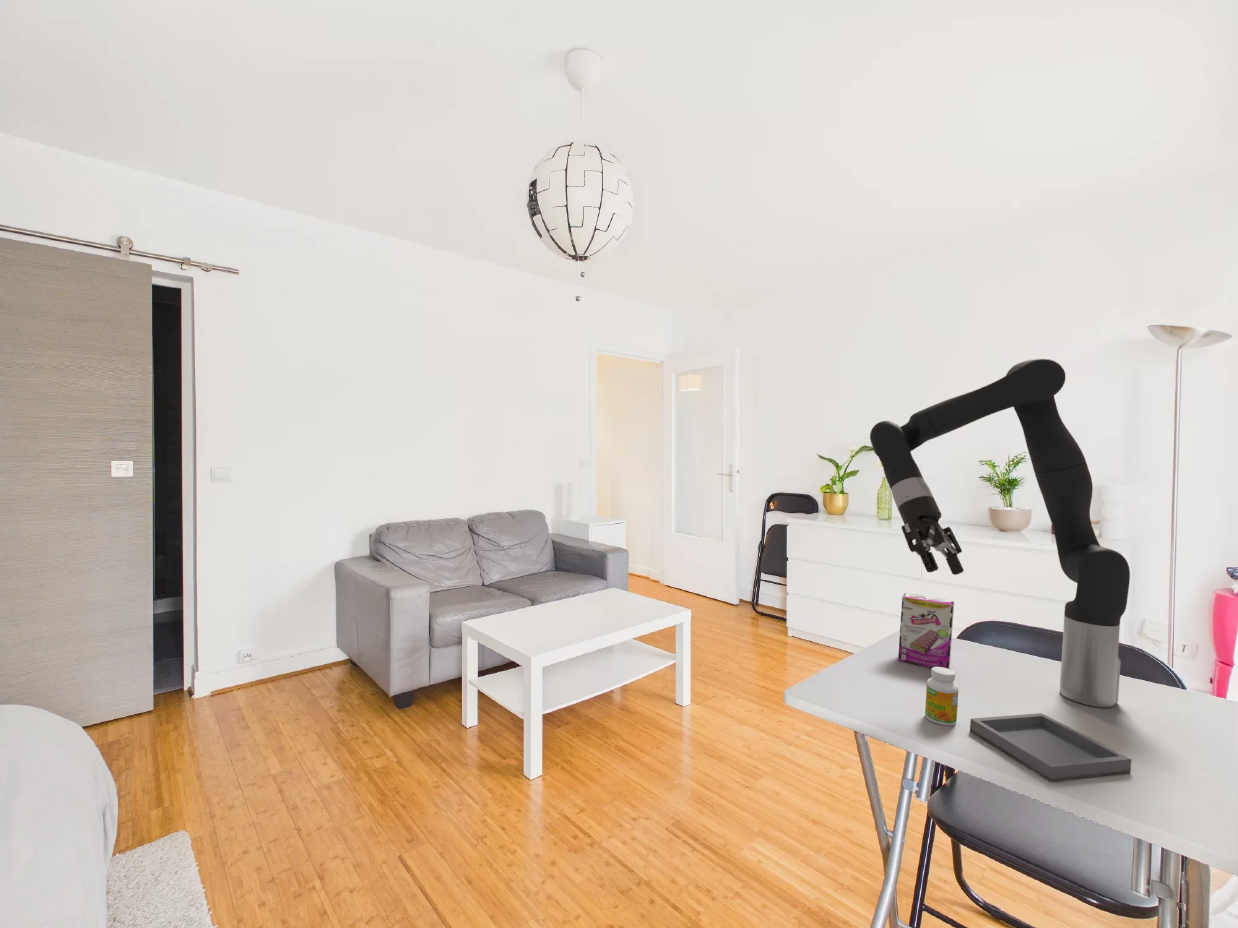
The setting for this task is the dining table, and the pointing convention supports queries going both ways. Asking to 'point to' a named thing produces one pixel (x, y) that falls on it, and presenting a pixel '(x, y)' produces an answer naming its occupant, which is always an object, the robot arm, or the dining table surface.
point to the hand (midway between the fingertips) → (946, 572)
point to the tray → (1050, 747)
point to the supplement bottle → (942, 697)
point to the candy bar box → (926, 631)
